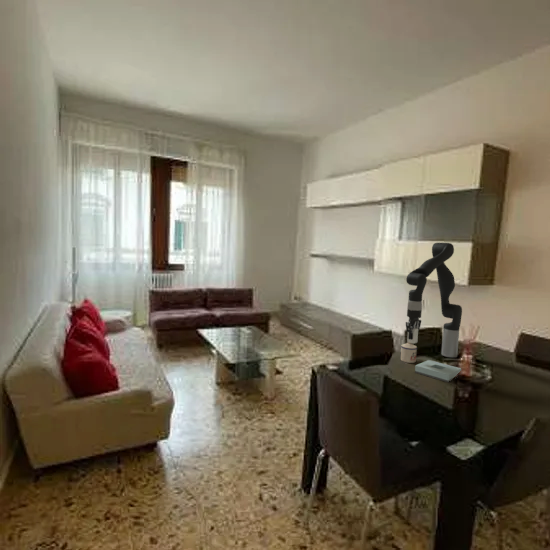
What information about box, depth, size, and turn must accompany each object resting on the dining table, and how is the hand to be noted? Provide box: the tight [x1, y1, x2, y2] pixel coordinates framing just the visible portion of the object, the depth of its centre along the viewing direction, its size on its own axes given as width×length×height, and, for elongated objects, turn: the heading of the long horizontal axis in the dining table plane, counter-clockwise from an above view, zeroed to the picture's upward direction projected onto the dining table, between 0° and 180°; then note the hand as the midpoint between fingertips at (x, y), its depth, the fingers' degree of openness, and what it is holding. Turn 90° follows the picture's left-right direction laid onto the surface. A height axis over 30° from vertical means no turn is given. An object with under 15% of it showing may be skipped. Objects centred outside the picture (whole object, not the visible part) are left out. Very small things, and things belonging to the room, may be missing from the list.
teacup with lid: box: [400, 342, 418, 364], centre depth 226 cm, size 12×9×12 cm
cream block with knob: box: [406, 328, 419, 344], centre depth 210 cm, size 4×4×9 cm
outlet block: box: [414, 359, 462, 383], centre depth 203 cm, size 16×18×4 cm
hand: (412, 338), depth 210 cm, fingers closed on cream block with knob, 4 cm apart
